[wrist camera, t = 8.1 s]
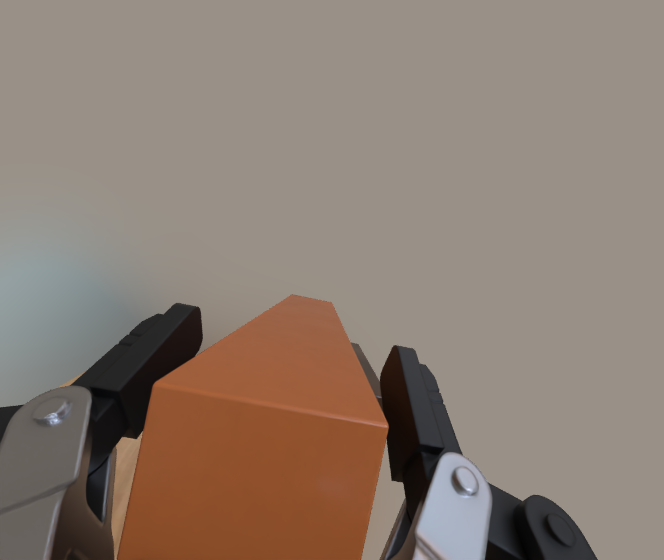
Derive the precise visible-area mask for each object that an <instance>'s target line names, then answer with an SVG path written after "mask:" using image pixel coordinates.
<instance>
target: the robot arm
mask: <svg viewBox="0 0 664 560" xmlns="http://www.w3.org/2000/svg"><path fill="white" fill-rule="evenodd" d="M202 339H203V334H202V323H201V311H200V308H199V307H196V306H191V305H186V304H181V303H176V304H174V305H173V306H172V307H171V308H170V309H169V310H168V311H167V312H166V313H165V314H164V315H163V314H156V315H154V316H152V317H150V318H148V319H146V320H144V321H142V322H141V323H140V324H139V325H138V326H136V327H135V328H134V329H133V330H132V331H131V332H130V334H129V335H127V336H125V337H124V338H123V339H122V340H121V341H120V342H119V344H117V345H115V346H114V347H113V348H112V349H111V350H110V351H108V352H107V353H106V354H105V355H104V356H103V357H102V358H101V359H100V360H98V361H97V362H96V363H95V364H94V365H93V366H92V367H91V368H89V369H88V370H87V371H86V372H85V373H84V374H83V375H82V376H80V377H79V378H78V379H77V380H76V381H75V382H74V383H72V384H71V385H70V386H65V387H60V388H56V389H53V390H50V391H48V392H45V393H43V394H41V395H39V396H37V397H35V398H34V399H32V400H30V401H29V402H27V403H26V404H25V405H18V406H10V407H1V408H0V560H114V542H113V536H112V529H111V519H112V506H113V494H114V482H115V469H116V457H117V449H116V444H117V443H118V442H119V441H120V439H121V438H122V437H127V438H133V439H137V438H138V436H139V435H140V434H141V432H142V431H143V429H144V425H145V420H146V416H147V411H148V406H149V401H150V396H151V392H152V387H153V385H154V383H155V382H156V381H158V380H159V379H161V378H162V377H164V376H165V375H167V374H168V373H170V372H172V371H173V370H175V369H176V368H178V367H179V366H181V365H183V364H184V363H186V362H187V361H189V360H190V359H192V358H194V357H195V355H196V354H197V352H198V351H199V349H200V346H201V343H202ZM380 390H381V398H382V406H383V414H384V416H385V418H386V420H387V422H388V425H389V429H388V434H387V445H388V454H389V462H390V469H391V478H392V481H397V482H403V484H404V490H405V497H406V498H405V500H404V502H403V504H402V507H401V509H400V511H399V514H398V516H397V519H396V522H395V524H394V526H393V528H392V531H391V534H390V536H389V538H388V541H387V543H386V545H385V548H384V550H383V553H382V555H381V557H380V560H598V559H597V558H596V556H595V554H594V552H593V551H592V549H591V547H590V546H589V544H588V542H587V540H586V539H585V537H584V535H583V534H582V532H581V531H580V529H579V528H578V526H577V525H576V524H575V522H574V521H573V520H572V519H571V517H570V516H569V515H568V514H567V513H566V512H565V511H564V510H563V509H562V508H560V507H559V506H558V505H556V504H555V503H554V502H553V501H551V500H549V499H547V498H545V497H543V496H540V495H532V496H530V497H528V498H527V499H525V500H524V501H521V500H519V499H518V498H516V497H514V496H512V495H510V494H508V493H506V492H505V491H503V490H501V489H499V488H497V487H495V486H493V485H491V484H490V483H488V482H487V480H486V478H485V477H484V475H483V474H482V472H481V471H480V470H479V468H478V467H477V466H476V465H475V464H474V463H473V462H472V461H470V460H469V459H468V458H466V457H465V456H463V454H462V452H461V450H460V447H459V444H458V441H457V439H456V436H455V433H454V430H453V427H452V424H451V422H450V419H449V416H448V413H447V410H446V408H445V405H444V404H443V399H442V396H441V393H439V388H438V385H437V382H436V379H435V377H434V376H433V374H432V373H431V372H430V370H429V369H428V368H427V366H426V365H423V364H419V361H418V358H417V354H416V351H415V350H414V349H412V348H407V347H402V346H396V345H395V346H393V347H392V350H391V352H390V354H389V356H388V358H387V360H386V362H385V365H384V367H383V369H382V372H381V376H380Z"/></svg>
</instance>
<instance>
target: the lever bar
mask: <svg viewBox="0 0 664 560" xmlns="http://www.w3.org/2000/svg"><path fill="white" fill-rule="evenodd" d="M388 429H389V425H388V422H387V420H386V418H385V416H384V414H383V412H382V410H381V407H380V405H379V403H378V401H377V399H376V397H375V394H374V392H373V390H372V388H371V386H370V384H369V382H368V379H367V377H366V375H365V373H364V371H363V369H362V366H361V364H360V362H359V360H358V358H357V356H356V354H355V351H354V349H353V347H352V345H351V343H350V341H349V339H348V336H347V334H346V333H345V331H344V328H343V326H342V324H341V321H340V319H339V317H338V315H337V313H336V311H335V308H334V306H333V304H332V303H331V302H327V301H322V300H316V299H312V298H307V297H302V296H297V295H290V296H289V297H287V298H286V299H284V300H283V301H281V302H280V303H278V304H276V305H275V306H273V307H272V308H270V309H269V310H267V311H265V312H264V313H262V314H261V315H259V316H258V317H256V318H255V319H253V320H252V321H250V322H248V323H247V324H245V325H244V326H242V327H241V328H239V329H237V330H236V331H234V332H233V333H231V334H229V335H228V336H226V337H225V338H223V339H222V340H220V341H219V342H217V343H215V344H214V345H212V346H211V347H209V348H208V349H206V350H204V351H203V352H201V353H200V354H198V355H197V356H195V357H194V358H192V359H190V360H189V361H187V362H186V363H184V364H183V365H181V366H179V367H178V368H176V369H175V370H173V371H172V372H170V373H168V374H167V375H165V376H164V377H162V378H161V379H159V380H158V381H156V382H155V383H154V385H153V387H152V392H151V396H150V401H149V406H148V411H147V416H146V420H145V425H144V430H143V435H142V440H141V445H140V449H139V454H138V459H137V464H136V469H135V474H134V478H133V483H132V488H131V493H130V498H129V502H128V507H127V512H126V517H125V522H124V527H123V531H122V536H121V541H120V546H119V551H118V556H117V560H361V556H362V552H363V548H364V543H365V538H366V533H367V529H368V524H369V519H370V514H371V510H372V505H373V500H374V495H375V491H376V485H377V481H378V476H379V471H380V467H381V462H382V457H383V452H384V448H385V443H386V438H387V434H388Z"/></svg>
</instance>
